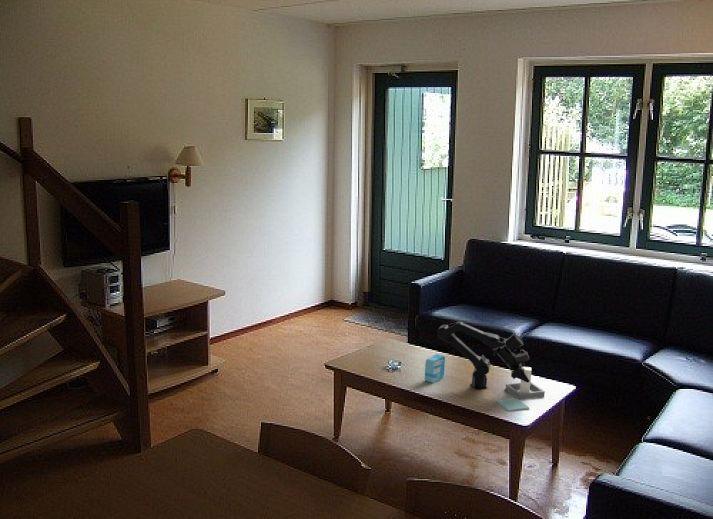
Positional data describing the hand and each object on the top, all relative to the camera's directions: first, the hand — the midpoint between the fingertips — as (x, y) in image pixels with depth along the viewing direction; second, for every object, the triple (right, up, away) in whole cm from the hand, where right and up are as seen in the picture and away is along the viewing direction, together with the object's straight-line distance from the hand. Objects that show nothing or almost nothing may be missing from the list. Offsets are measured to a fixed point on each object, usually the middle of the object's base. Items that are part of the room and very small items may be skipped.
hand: (528, 380), depth 341 cm
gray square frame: (-2, -6, +2) cm, 7 cm away
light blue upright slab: (-45, -2, +15) cm, 47 cm away
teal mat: (-11, -9, -15) cm, 21 cm away
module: (-2, -6, +2) cm, 7 cm away
